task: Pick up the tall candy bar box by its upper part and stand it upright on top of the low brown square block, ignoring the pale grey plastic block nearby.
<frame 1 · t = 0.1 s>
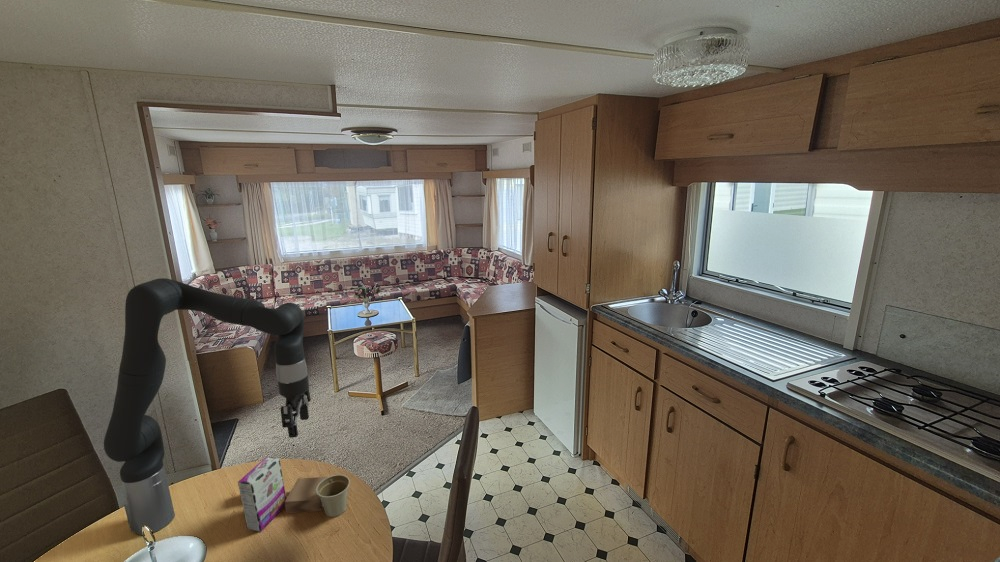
hand: (299, 427, 118), 29 cm above the table, fingers open, 8 cm apart
brown square block: (309, 499, 130), on the table
candy bar box: (267, 517, 124), on the table
flower pot: (336, 510, 126), on the table
grey block: (261, 495, 132), on the table
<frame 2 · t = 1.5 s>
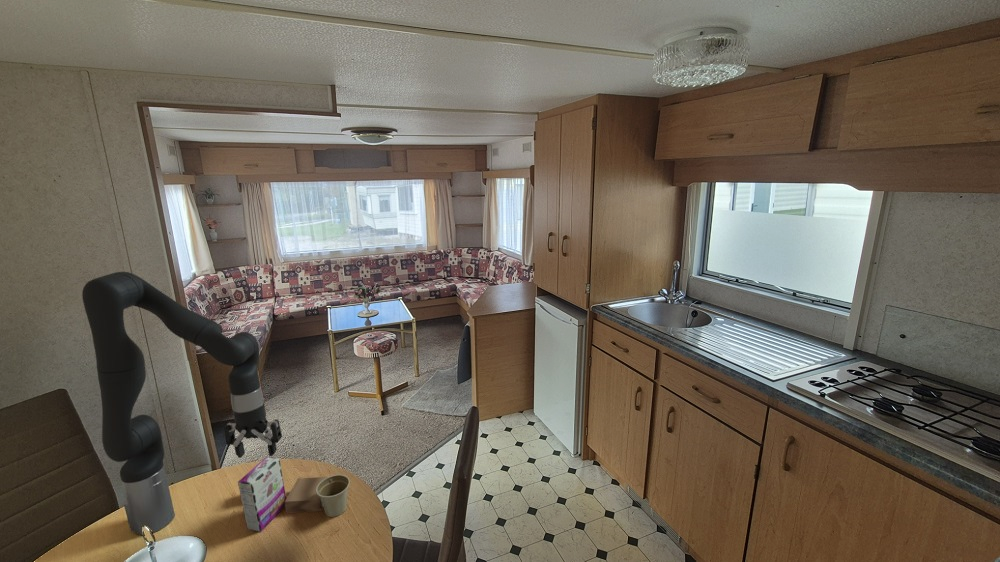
hand: (257, 455, 119), 21 cm above the table, fingers open, 8 cm apart
nothing on the table moved.
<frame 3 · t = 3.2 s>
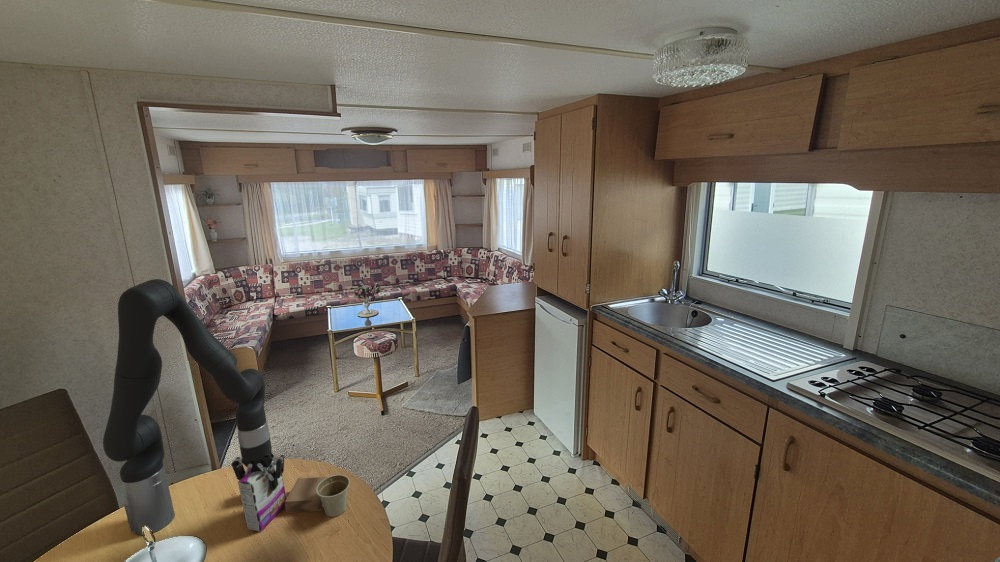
hand: (263, 489, 121), 10 cm above the table, fingers closed on candy bar box, 5 cm apart
candy bar box: (267, 517, 124), on the table, touching gripper
everything else where it was.
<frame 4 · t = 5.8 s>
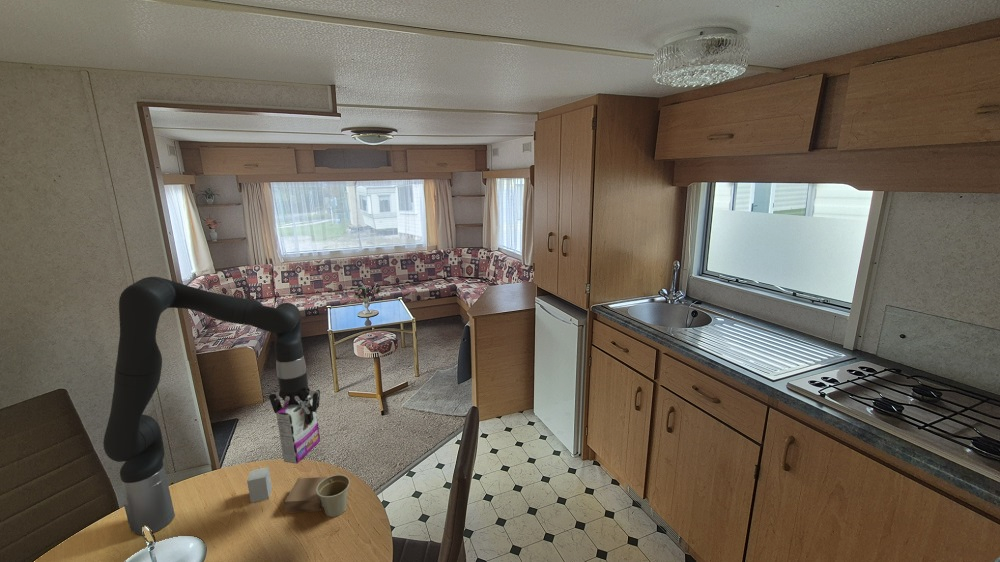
hand: (298, 423, 124), 27 cm above the table, fingers closed on candy bar box, 5 cm apart
candy bar box: (302, 452, 126), point 17 cm above the table, touching gripper
everything else where it was.
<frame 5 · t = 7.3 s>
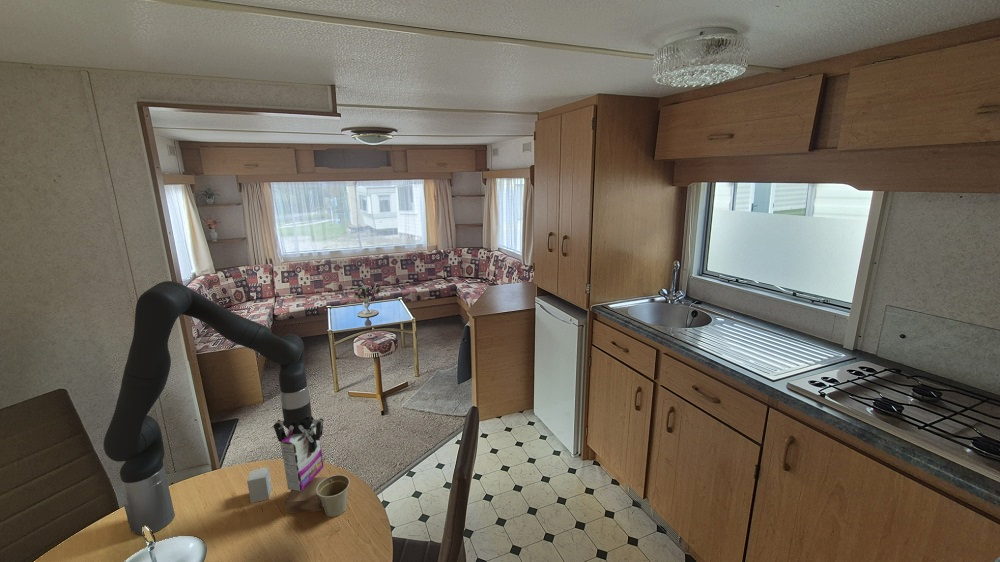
hand: (302, 451, 126), 17 cm above the table, fingers closed on candy bar box, 5 cm apart
candy bar box: (306, 478, 128), point 8 cm above the table, touching gripper
everything else where it was.
when the fingers open (15 cm above the table, at t = 8.4 s): candy bar box drops 1 cm, resting on brown square block.
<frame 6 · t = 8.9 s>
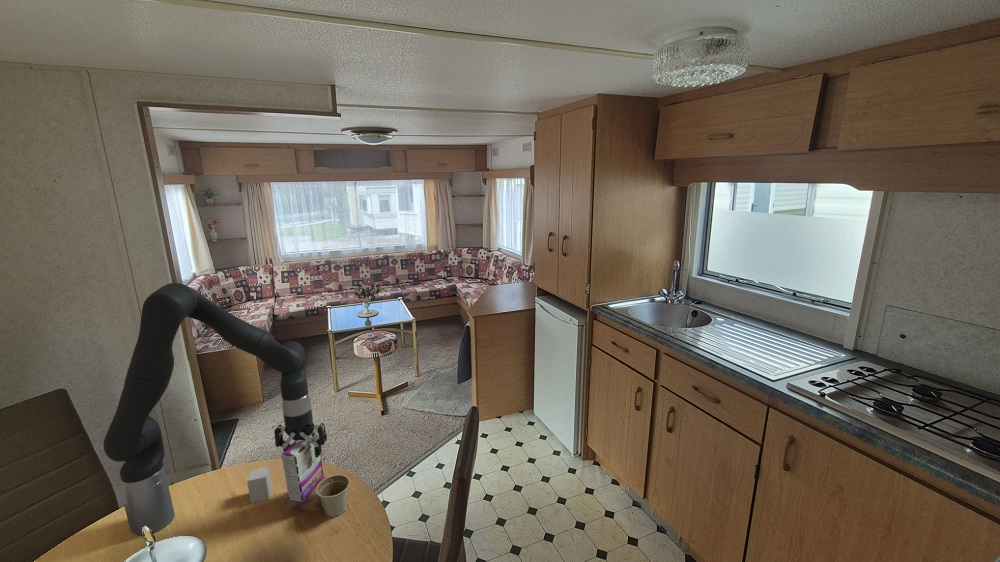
hand: (303, 456, 126), 16 cm above the table, fingers open, 8 cm apart
candy bar box: (306, 489, 129), point 4 cm above the table, touching brown square block
everything else where it was.
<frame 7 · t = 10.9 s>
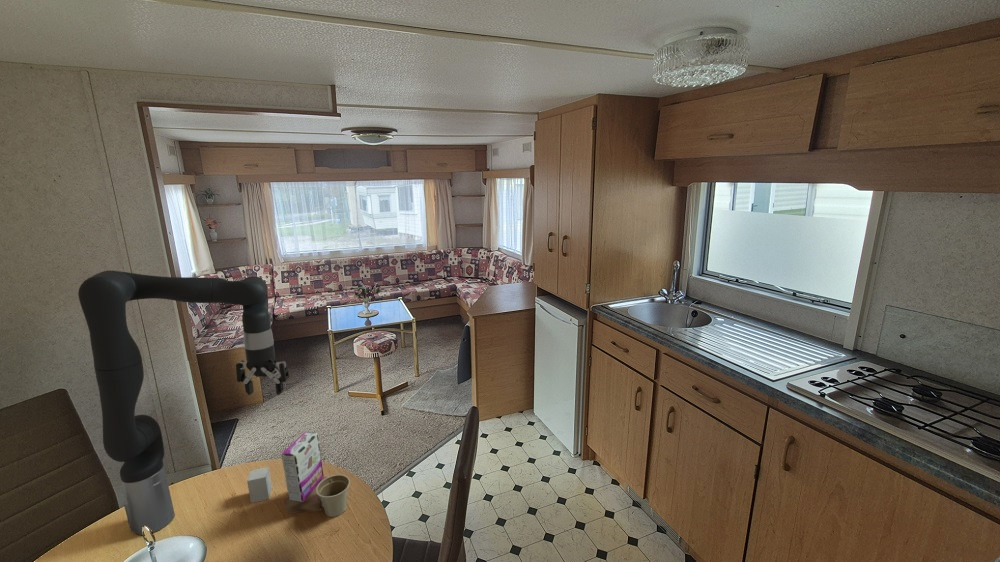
hand: (265, 393, 127), 34 cm above the table, fingers open, 8 cm apart
nothing on the table moved.
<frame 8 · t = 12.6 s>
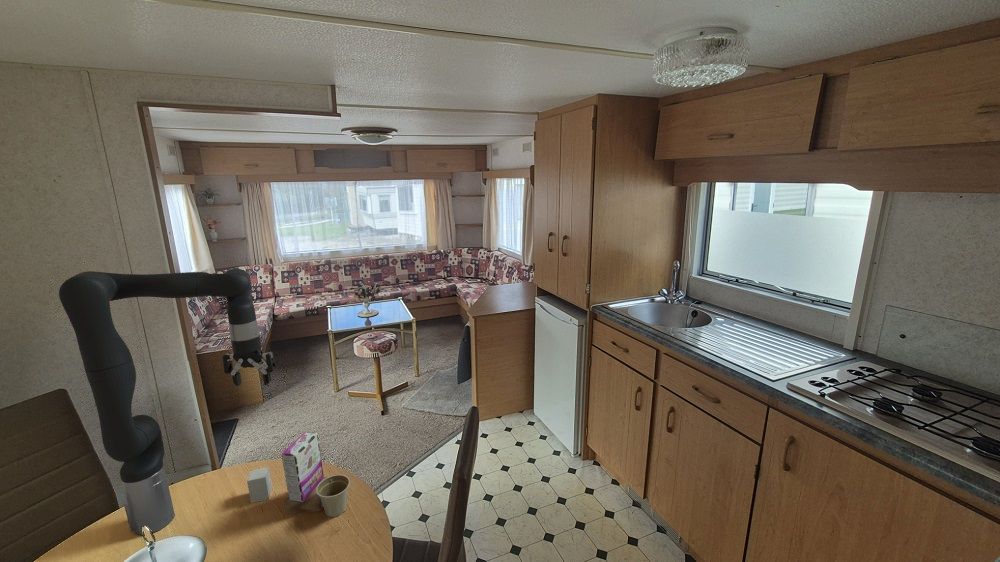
hand: (253, 384, 128), 36 cm above the table, fingers open, 8 cm apart
nothing on the table moved.
at the end: candy bar box inside the target area on the brown square block (0.4 cm from its centre), point 3.8 cm above the brown square block's base; candy bar box tilted 0°; the gripper is holding nothing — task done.
